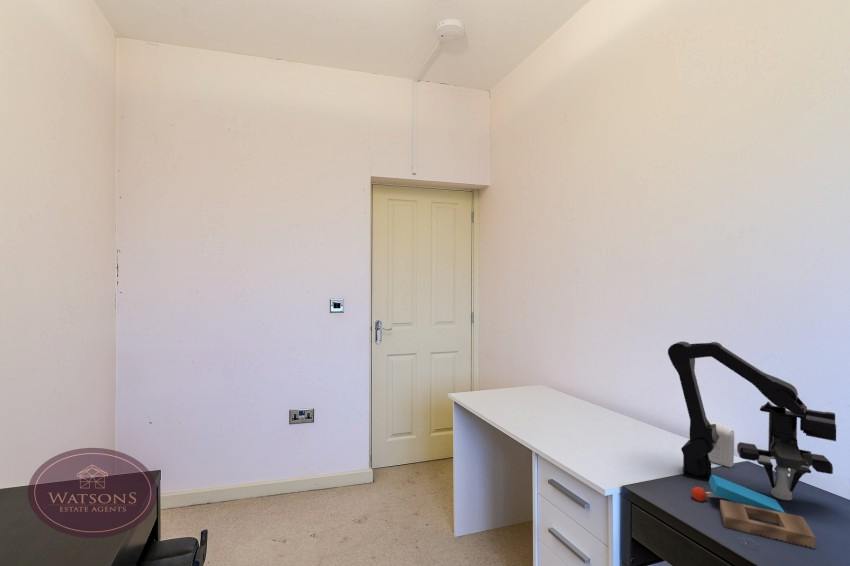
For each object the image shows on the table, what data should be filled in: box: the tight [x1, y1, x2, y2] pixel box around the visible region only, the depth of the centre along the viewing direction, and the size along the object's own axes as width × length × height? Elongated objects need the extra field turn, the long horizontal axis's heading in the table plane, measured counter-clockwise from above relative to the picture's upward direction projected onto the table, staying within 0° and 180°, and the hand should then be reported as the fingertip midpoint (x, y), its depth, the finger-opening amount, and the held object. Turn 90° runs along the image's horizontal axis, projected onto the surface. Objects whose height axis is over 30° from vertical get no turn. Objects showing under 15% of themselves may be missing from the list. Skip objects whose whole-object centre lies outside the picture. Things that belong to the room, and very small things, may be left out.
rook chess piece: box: [770, 464, 793, 501], centre depth 112 cm, size 4×4×8 cm
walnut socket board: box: [719, 498, 816, 549], centre depth 98 cm, size 16×9×2 cm, turn 61°
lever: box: [691, 473, 786, 513], centre depth 108 cm, size 7×7×18 cm
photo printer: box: [708, 421, 735, 468], centre depth 135 cm, size 10×4×12 cm, turn 35°
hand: (781, 489), depth 112 cm, fingers closed on rook chess piece, 3 cm apart
